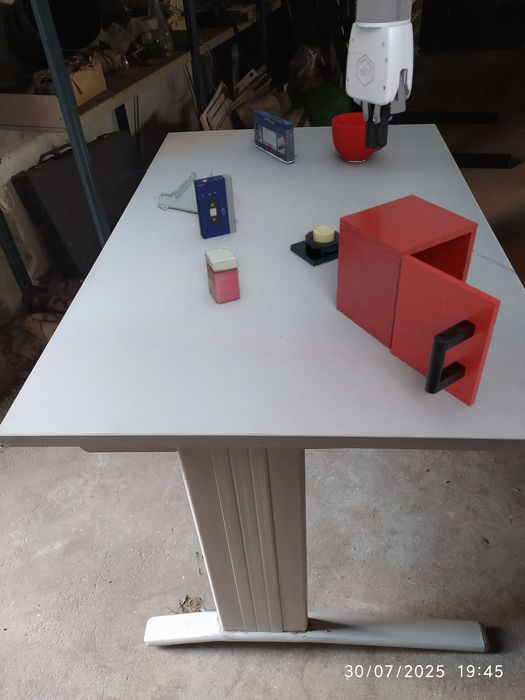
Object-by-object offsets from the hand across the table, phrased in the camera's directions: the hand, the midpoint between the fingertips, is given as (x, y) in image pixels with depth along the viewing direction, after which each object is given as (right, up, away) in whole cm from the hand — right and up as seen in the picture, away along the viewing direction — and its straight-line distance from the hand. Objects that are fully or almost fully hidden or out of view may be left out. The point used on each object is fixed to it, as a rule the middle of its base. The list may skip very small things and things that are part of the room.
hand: (375, 146), depth 86 cm
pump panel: (-6, -13, +18) cm, 24 cm away
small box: (-25, -23, +8) cm, 34 cm away
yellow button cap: (-6, -11, +17) cm, 21 cm away
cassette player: (-27, -8, +27) cm, 39 cm away
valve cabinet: (+3, -27, +1) cm, 27 cm away
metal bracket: (-33, +2, +41) cm, 52 cm away
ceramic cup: (+8, +17, +57) cm, 60 cm away
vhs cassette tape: (-15, +22, +64) cm, 69 cm away
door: (+3, -37, -13) cm, 39 cm away
